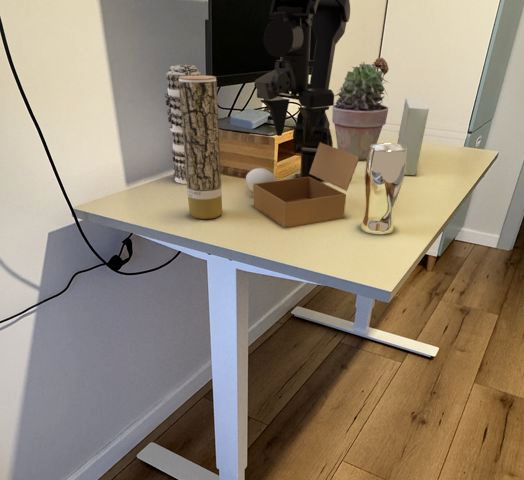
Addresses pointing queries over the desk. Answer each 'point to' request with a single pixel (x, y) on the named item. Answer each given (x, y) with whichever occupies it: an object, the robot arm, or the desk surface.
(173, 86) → the decorative candle
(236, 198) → the desk surface
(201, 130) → the paper tube
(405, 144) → the skincare box
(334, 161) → the flap
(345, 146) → the potted plant
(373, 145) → the beer glass
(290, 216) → the carton
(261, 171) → the stress ball
